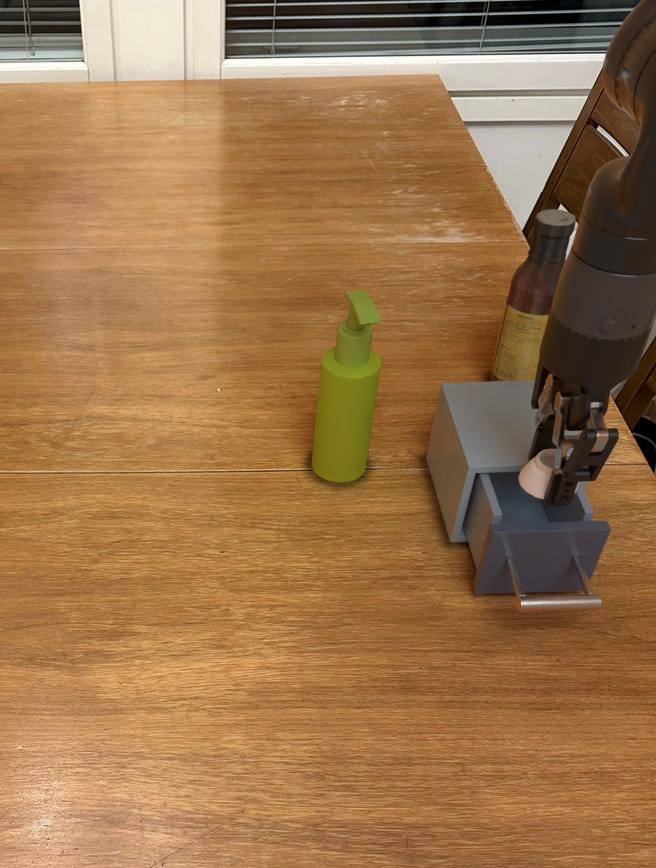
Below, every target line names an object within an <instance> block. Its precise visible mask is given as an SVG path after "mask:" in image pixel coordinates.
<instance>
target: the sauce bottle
mask: <svg viewBox="0 0 656 868" xmlns="http://www.w3.org/2000/svg"><path fill="white" fill-rule="evenodd" d="M576 222H577V218H576V216H575V215H574V214H573V213H572V212H569V211H566V210H564V209H563V210H562V209H558V208H557V209H556V208H550V209H544V210H541V211H538V212H537V213H536V215H535V219H534V223H533V235H532V239H531V243H530V248H529V249H528V252H527V257H526V258H525V260H524V261H523V262H522V263H521V264H520V265H519V266H518V267H517V268H516V270H515V271H514V273H513V275H512V278H511V281H510V286H509V292H508V294H507V295H508V296H507V297H506V299H505V304H504V309H503V313H502V318H501V322H500V327H499V331H498V335H497V340H496V344H495V349H494V354H493V358H492V363H491V367H490V372H491V373H490V382H491V381H524V380H535V378H536V372H537V367H538V361H539V356H540V355H539V350H540V345H541V342H542V338H543V335H544V331H545V327H546V324H547V320H548V317H549V313H550V309H551V306H552V302H553V299H554V295H555V291H556V288H557V284H558V281H559V277H560V274H561V271H562V268H563V266H564V264H565V261H566V259H567V252H568V248H569V244H570V239H571V236H572V235H573V233H574V232H575V227H576V224H577V223H576Z"/></svg>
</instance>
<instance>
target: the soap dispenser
mask: <svg viewBox="0 0 656 868" xmlns="http://www.w3.org/2000/svg"><path fill="white" fill-rule="evenodd" d="M344 298H345V299H346V301H347V303H348V311H347V319H346V320H344V321H342V322H341V323H339V324H338V326H337V332H336V341H335V346H332V347H331V348H328V349H327V350H326V351H325V352H324V353H323V354H322V356H321V359H320V361H321V362H320V371H319V382H318V390H317V391H318V392H317V401H316V412H315V423H314V433H313V443H312V444H313V445H312V454H311V462H310V463H311V468H312V471H313V472H314V474H315V475H316V476H318V477H319V478H321V479H323V480H325V481H328V482H332V483H340V484H341V483H342V484H343V483H349V482H353V481H356V480H358V479H359V478H361V477H362V476H363V475H364V473H365V472H366V470H367V469H366V468H367V462H368V455H369V449H370V442H371V436H372V429H373V423H374V416H375V409H376V403H377V395H378V389H379V383H380V376H381V370H382V358H381V356H380V355H379V353H377V352H376V351H374V350H373V349H371V348H372V340H373V333H374V328H373V326H372V325H378V324H380V323H381V319H380V316H379V312H378V310H377V307H376V305H375V303H374V301H373V300H372V297H371V296H370V295H369V293H368V292H367V290H366V289H355V290H346V291H345V293H344Z"/></svg>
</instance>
